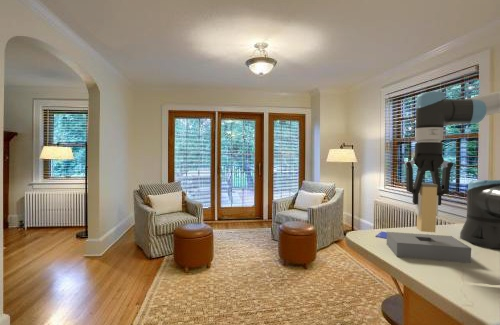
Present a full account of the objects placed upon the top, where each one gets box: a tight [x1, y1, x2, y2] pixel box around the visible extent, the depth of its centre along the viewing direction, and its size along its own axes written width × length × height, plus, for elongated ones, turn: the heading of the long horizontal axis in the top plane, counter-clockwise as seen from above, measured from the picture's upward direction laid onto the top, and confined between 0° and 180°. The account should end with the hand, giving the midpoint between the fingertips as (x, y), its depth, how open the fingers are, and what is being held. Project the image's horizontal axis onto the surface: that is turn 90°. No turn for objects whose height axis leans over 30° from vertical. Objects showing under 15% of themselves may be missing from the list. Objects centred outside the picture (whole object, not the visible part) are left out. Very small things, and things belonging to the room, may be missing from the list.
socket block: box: [386, 231, 472, 264], centre depth 91 cm, size 20×12×5 cm, turn 78°
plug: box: [416, 182, 438, 233], centre depth 90 cm, size 4×4×15 cm
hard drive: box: [375, 231, 388, 240], centre depth 106 cm, size 2×8×12 cm
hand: (426, 214), depth 90 cm, fingers closed on plug, 4 cm apart
